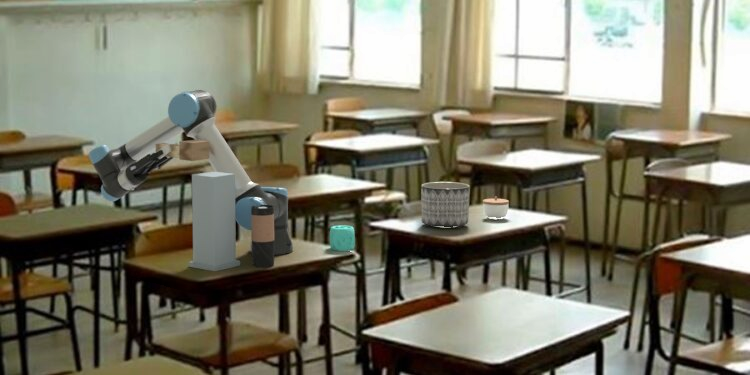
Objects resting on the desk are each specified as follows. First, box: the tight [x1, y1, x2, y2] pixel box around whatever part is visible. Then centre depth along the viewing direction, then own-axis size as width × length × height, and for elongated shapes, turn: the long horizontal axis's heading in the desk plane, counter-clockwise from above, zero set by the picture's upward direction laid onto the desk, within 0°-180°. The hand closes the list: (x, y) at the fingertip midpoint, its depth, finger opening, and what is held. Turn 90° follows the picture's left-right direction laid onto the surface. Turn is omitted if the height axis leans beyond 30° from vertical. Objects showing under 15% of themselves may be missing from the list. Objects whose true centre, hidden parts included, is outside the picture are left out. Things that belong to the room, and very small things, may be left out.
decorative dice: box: [329, 224, 356, 252], centre depth 442 cm, size 8×8×8 cm
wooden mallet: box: [155, 139, 209, 162], centre depth 415 cm, size 20×8×6 cm, turn 53°
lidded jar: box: [482, 195, 510, 218], centre depth 506 cm, size 11×11×9 cm
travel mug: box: [250, 205, 275, 268], centre depth 412 cm, size 8×8×20 cm
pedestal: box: [188, 170, 241, 272], centre depth 409 cm, size 12×12×31 cm
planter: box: [420, 181, 471, 227], centre depth 488 cm, size 19×19×16 cm
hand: (173, 146), depth 417 cm, fingers closed on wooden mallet, 3 cm apart
